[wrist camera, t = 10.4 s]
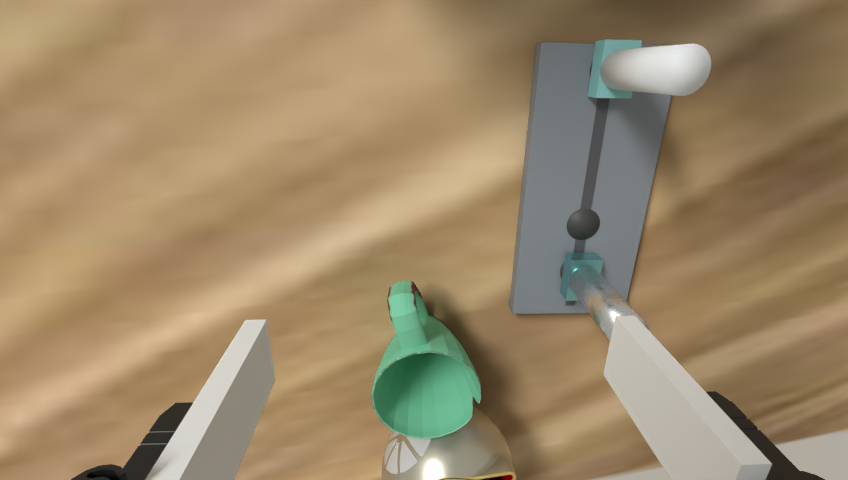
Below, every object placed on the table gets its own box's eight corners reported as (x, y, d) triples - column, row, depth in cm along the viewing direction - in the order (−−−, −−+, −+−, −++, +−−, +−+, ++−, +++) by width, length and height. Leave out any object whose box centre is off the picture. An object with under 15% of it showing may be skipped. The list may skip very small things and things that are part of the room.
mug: (474, 358, 49) (491, 426, 40) (391, 377, 50) (388, 449, 40) (445, 243, 44) (456, 290, 34) (352, 266, 44) (339, 319, 35)
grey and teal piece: (536, 40, 37) (597, 28, 25) (672, 43, 38) (792, 32, 26) (509, 306, 47) (543, 385, 35) (617, 305, 47) (686, 382, 36)
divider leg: (565, 252, 42) (615, 309, 32) (595, 252, 43) (654, 309, 33) (559, 292, 44) (605, 358, 34) (588, 291, 44) (642, 357, 34)
